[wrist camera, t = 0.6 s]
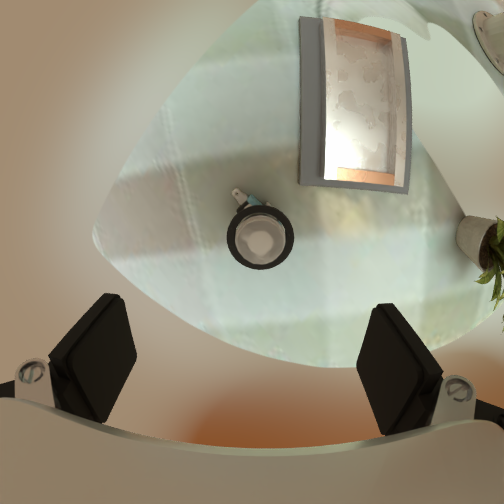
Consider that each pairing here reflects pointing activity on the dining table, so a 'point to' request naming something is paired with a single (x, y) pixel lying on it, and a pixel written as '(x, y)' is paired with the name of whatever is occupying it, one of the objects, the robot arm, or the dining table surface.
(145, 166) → the dining table surface
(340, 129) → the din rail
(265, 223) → the round cylindrical fitting
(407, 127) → the panel
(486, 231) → the house plant
